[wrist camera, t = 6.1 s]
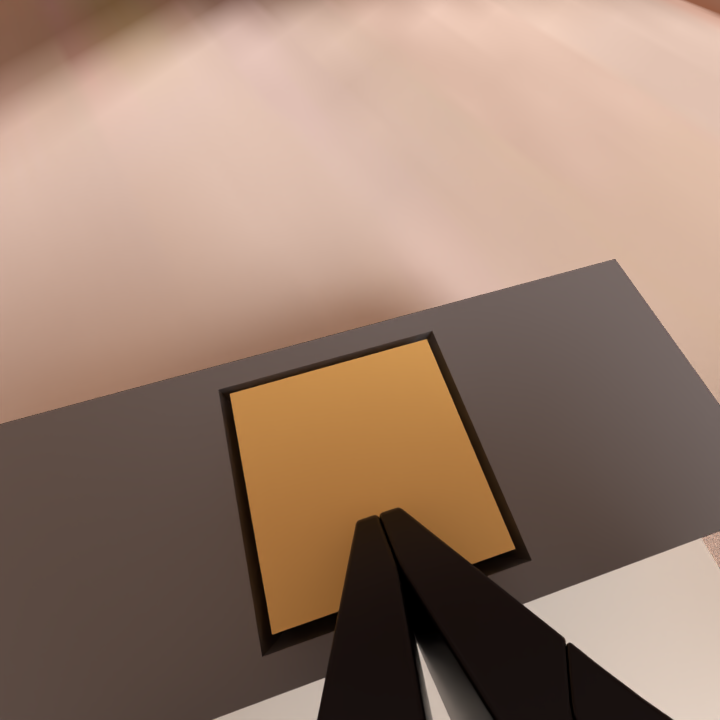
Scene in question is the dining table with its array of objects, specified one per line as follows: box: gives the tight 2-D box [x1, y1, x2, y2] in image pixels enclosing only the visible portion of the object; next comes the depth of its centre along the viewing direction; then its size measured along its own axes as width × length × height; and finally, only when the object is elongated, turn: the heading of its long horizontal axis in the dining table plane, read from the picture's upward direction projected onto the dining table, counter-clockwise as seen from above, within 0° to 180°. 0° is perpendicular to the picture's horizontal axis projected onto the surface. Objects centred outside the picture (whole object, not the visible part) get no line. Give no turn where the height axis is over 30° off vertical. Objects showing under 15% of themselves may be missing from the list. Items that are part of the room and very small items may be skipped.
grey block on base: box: [0, 259, 720, 720], centre depth 10 cm, size 18×20×7 cm
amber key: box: [230, 339, 515, 635], centre depth 9 cm, size 5×5×3 cm
